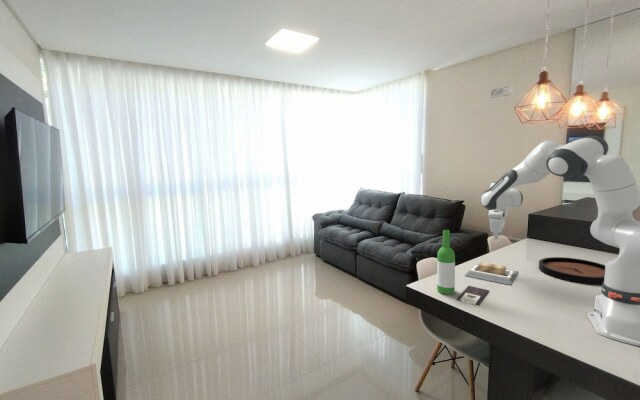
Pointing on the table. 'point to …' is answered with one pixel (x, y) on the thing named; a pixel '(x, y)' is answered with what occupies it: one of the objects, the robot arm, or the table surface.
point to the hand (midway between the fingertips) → (497, 237)
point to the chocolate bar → (473, 295)
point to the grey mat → (492, 275)
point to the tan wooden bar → (492, 269)
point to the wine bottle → (446, 266)
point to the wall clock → (573, 270)
